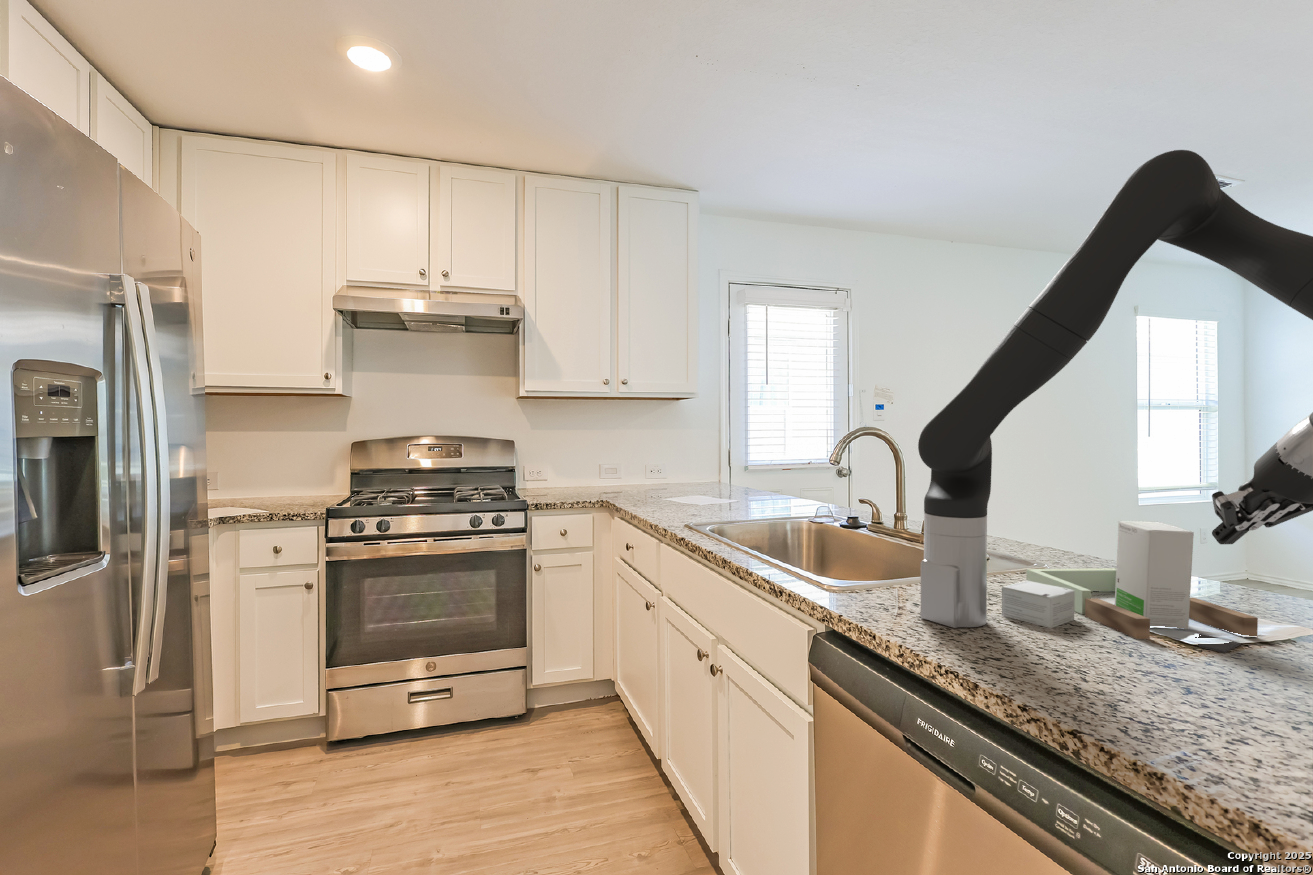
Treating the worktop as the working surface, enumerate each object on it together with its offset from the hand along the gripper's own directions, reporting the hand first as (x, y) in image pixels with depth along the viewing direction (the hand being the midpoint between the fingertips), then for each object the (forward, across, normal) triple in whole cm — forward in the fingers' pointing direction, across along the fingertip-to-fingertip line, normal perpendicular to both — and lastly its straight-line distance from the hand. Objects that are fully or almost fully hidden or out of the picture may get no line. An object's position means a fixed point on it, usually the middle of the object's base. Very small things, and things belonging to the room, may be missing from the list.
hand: (1220, 539), depth 85 cm
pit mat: (+12, 0, +10) cm, 15 cm away
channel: (+17, 0, +5) cm, 18 cm away
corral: (+26, 0, -4) cm, 27 cm away
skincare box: (+19, 0, +3) cm, 19 cm away
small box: (+21, +17, +1) cm, 27 cm away
